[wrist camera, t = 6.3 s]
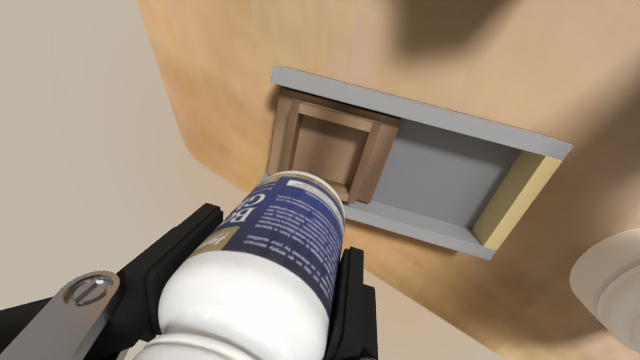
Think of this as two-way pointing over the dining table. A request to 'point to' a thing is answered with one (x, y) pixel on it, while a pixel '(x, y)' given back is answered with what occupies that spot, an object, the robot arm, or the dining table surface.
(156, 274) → the robot arm
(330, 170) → the crate
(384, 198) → the bay
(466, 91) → the dining table surface
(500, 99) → the dining table surface
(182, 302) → the pill bottle
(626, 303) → the honey pot
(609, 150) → the dining table surface
